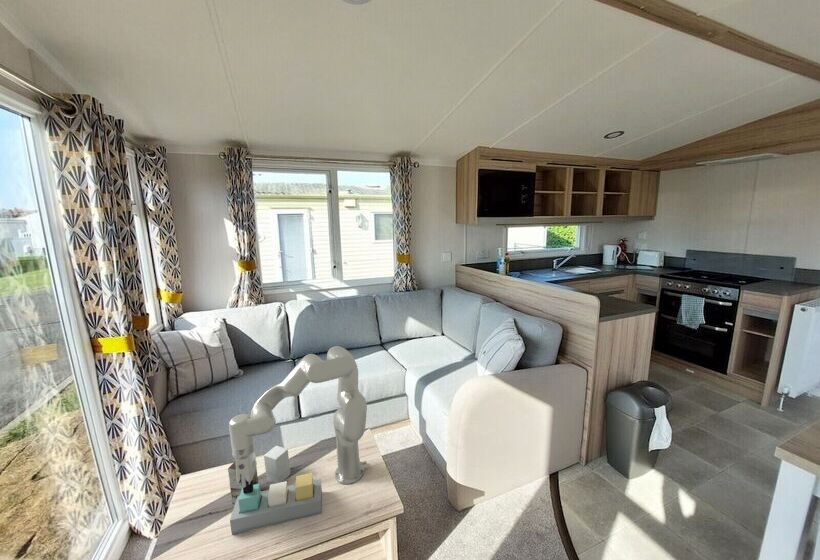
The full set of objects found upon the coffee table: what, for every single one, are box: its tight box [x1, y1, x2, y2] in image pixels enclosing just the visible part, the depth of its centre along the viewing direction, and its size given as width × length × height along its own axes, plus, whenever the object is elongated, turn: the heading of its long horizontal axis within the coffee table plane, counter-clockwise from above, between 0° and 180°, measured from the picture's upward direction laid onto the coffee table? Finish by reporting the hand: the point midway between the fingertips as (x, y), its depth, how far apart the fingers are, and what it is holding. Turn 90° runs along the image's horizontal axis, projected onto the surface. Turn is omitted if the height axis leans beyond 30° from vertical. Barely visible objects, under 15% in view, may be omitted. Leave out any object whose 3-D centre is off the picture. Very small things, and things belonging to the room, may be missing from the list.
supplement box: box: [263, 445, 291, 484], centre depth 146 cm, size 7×7×13 cm
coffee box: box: [227, 460, 260, 504], centre depth 136 cm, size 9×6×16 cm
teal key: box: [238, 483, 261, 514], centre depth 125 cm, size 6×6×7 cm
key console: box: [229, 478, 323, 535], centre depth 128 cm, size 32×11×6 cm, turn 104°
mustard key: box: [295, 472, 314, 501], centre depth 130 cm, size 6×6×7 cm
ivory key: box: [268, 481, 288, 507], centre depth 128 cm, size 6×6×7 cm
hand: (248, 491), depth 124 cm, fingers closed
